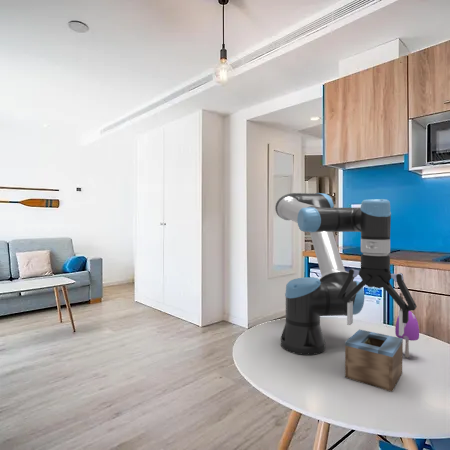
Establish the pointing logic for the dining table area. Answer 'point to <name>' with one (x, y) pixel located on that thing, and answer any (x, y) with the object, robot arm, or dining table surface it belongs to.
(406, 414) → the dining table surface
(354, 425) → the dining table surface
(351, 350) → the coin box
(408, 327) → the toy
